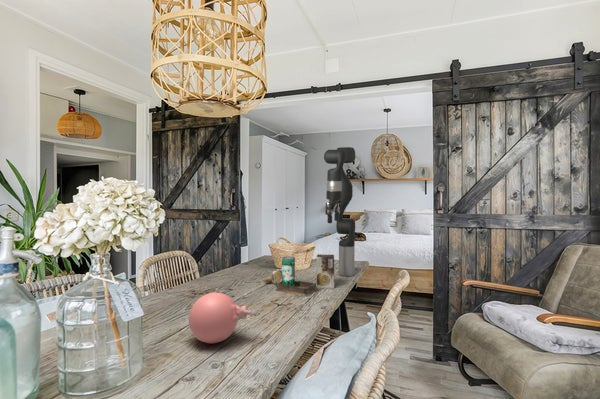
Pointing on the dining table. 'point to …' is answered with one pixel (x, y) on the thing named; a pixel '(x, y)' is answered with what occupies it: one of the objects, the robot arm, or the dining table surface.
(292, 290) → the brown open tray
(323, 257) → the coffee box
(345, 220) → the robot arm
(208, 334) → the balloon
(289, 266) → the can
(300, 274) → the dining table surface
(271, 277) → the ceramic sculpture
